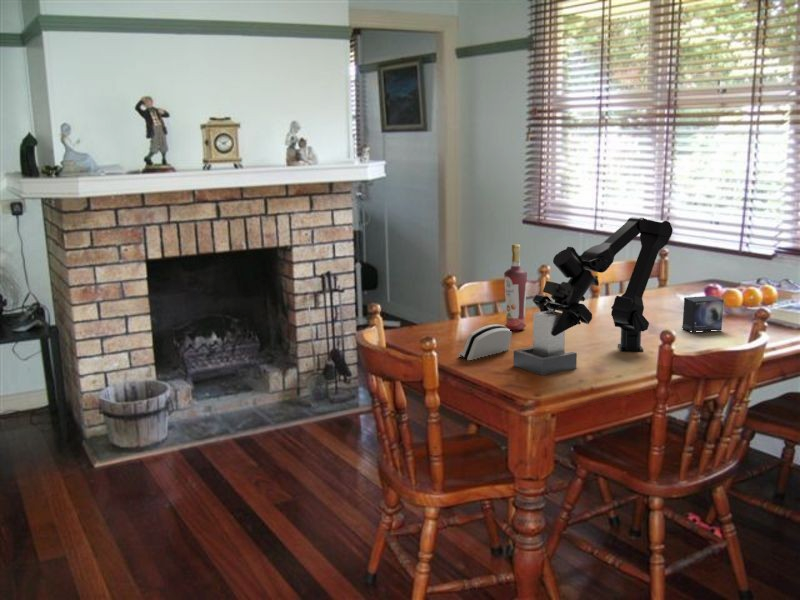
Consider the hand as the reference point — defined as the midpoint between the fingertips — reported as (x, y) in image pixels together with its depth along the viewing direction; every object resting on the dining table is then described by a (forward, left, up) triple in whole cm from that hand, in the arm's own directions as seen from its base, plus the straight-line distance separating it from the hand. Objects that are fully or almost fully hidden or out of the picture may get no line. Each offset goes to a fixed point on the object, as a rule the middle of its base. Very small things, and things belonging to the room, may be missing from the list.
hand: (545, 332), depth 219 cm
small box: (-44, +52, -10) cm, 69 cm away
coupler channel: (0, 0, -10) cm, 10 cm away
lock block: (-1, +1, -7) cm, 7 cm away
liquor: (-44, -7, -10) cm, 46 cm away
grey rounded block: (-12, -16, -10) cm, 23 cm away
